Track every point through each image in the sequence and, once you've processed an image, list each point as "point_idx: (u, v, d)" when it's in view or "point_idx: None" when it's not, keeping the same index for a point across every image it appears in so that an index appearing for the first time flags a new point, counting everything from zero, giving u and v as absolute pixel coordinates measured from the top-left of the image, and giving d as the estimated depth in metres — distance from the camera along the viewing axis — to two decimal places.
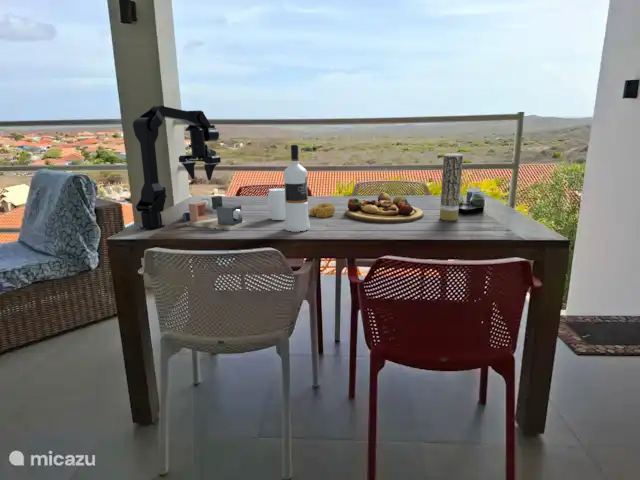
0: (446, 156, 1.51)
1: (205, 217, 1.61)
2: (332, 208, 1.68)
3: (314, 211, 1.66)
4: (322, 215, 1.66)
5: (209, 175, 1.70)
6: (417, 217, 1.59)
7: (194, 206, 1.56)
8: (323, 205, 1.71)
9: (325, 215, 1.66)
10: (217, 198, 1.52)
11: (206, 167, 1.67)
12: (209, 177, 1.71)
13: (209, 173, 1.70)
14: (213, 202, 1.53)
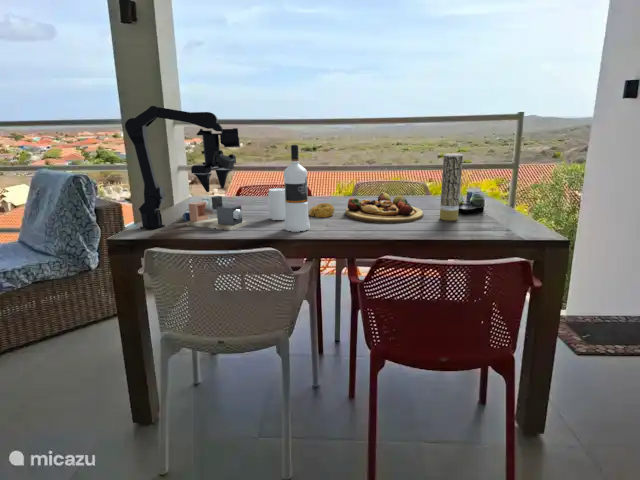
0: (446, 156, 1.51)
1: (205, 217, 1.61)
2: (331, 208, 1.68)
3: (313, 211, 1.66)
4: (321, 215, 1.66)
5: (204, 186, 1.49)
6: (417, 217, 1.59)
7: (194, 206, 1.56)
8: (322, 205, 1.71)
9: (324, 215, 1.66)
10: (217, 198, 1.52)
11: None
12: (205, 188, 1.50)
13: (203, 184, 1.49)
14: (213, 202, 1.53)
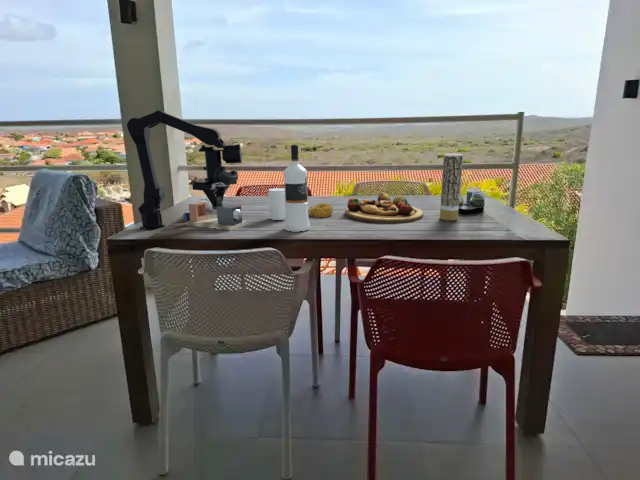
0: (446, 156, 1.51)
1: (205, 217, 1.61)
2: (330, 208, 1.68)
3: (312, 211, 1.66)
4: (320, 215, 1.66)
5: (211, 201, 1.52)
6: (417, 217, 1.59)
7: (194, 206, 1.56)
8: (321, 205, 1.71)
9: (323, 215, 1.66)
10: (217, 198, 1.52)
11: None
12: (212, 203, 1.52)
13: (210, 198, 1.51)
14: None
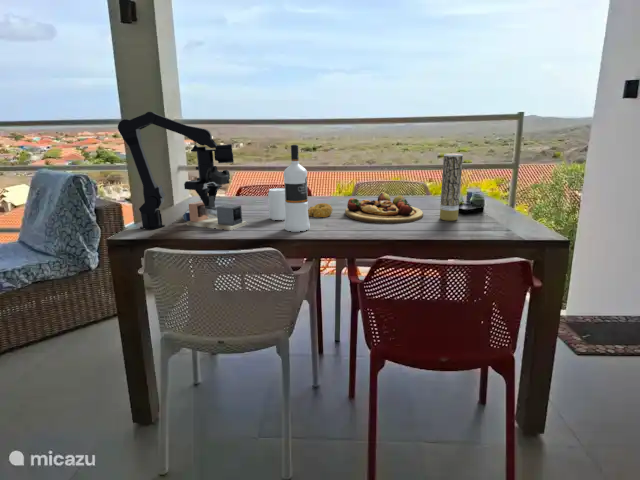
0: (446, 156, 1.51)
1: (205, 217, 1.61)
2: (329, 208, 1.68)
3: (311, 211, 1.66)
4: (319, 215, 1.65)
5: (203, 200, 1.53)
6: (417, 217, 1.59)
7: (194, 206, 1.56)
8: (320, 205, 1.71)
9: (322, 215, 1.66)
10: (209, 197, 1.54)
11: None
12: (204, 202, 1.54)
13: (202, 198, 1.53)
14: None
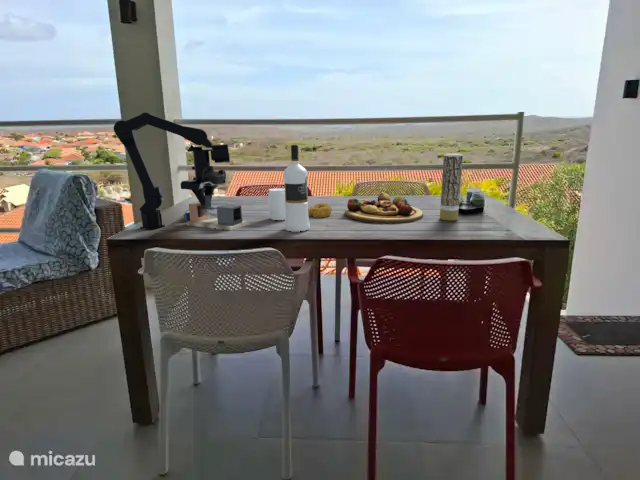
0: (446, 156, 1.51)
1: (205, 217, 1.61)
2: (329, 208, 1.67)
3: (311, 211, 1.66)
4: (319, 215, 1.65)
5: (199, 200, 1.54)
6: (417, 217, 1.59)
7: (194, 206, 1.56)
8: (320, 205, 1.71)
9: (322, 215, 1.66)
10: (205, 197, 1.54)
11: None
12: (200, 202, 1.55)
13: (198, 198, 1.54)
14: None
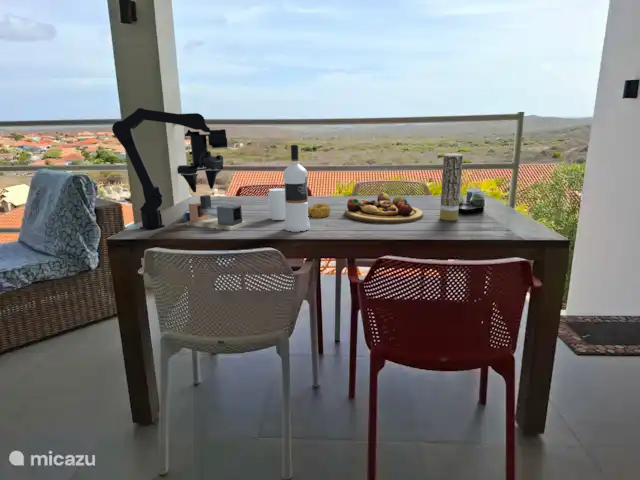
0: (446, 156, 1.51)
1: (205, 217, 1.61)
2: (328, 208, 1.67)
3: (310, 211, 1.66)
4: (318, 215, 1.65)
5: (191, 186, 1.51)
6: (417, 217, 1.59)
7: (194, 206, 1.56)
8: (319, 205, 1.71)
9: (321, 215, 1.66)
10: (205, 197, 1.54)
11: None
12: (192, 189, 1.51)
13: (190, 184, 1.51)
14: (202, 201, 1.55)
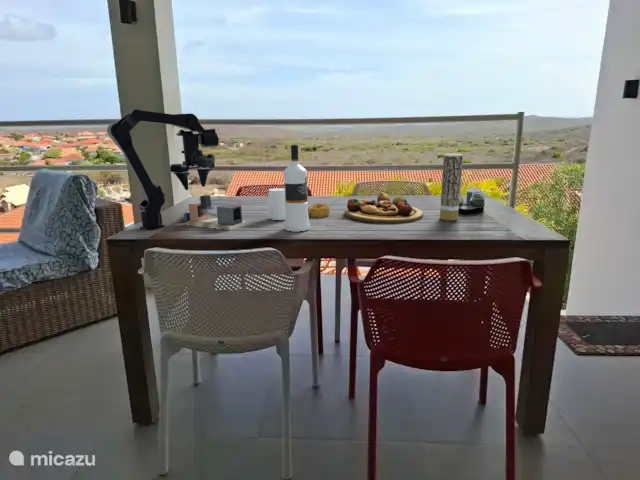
0: (446, 156, 1.51)
1: (205, 217, 1.61)
2: (327, 208, 1.67)
3: (309, 211, 1.66)
4: (317, 215, 1.65)
5: (183, 184, 1.56)
6: (417, 217, 1.59)
7: (194, 206, 1.56)
8: (318, 205, 1.71)
9: (320, 215, 1.66)
10: (205, 197, 1.54)
11: None
12: (184, 186, 1.56)
13: (182, 182, 1.56)
14: (202, 201, 1.55)
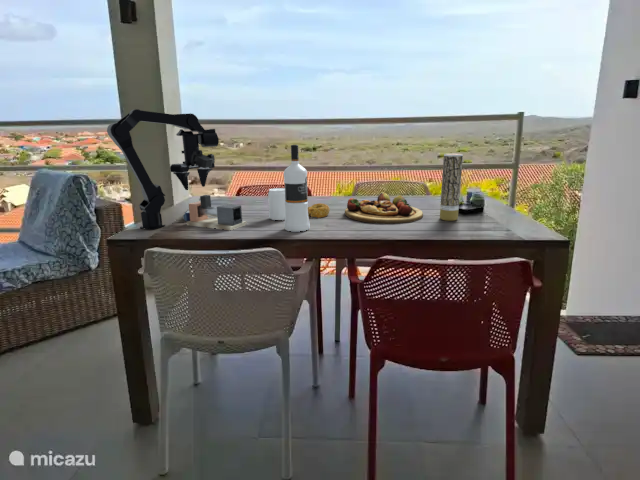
0: (446, 156, 1.51)
1: (205, 217, 1.61)
2: (327, 208, 1.67)
3: (309, 211, 1.66)
4: (317, 215, 1.65)
5: (183, 184, 1.56)
6: (417, 217, 1.59)
7: (194, 206, 1.56)
8: (318, 205, 1.71)
9: (320, 215, 1.66)
10: (205, 197, 1.54)
11: None
12: (184, 186, 1.56)
13: (182, 182, 1.56)
14: (202, 201, 1.55)
